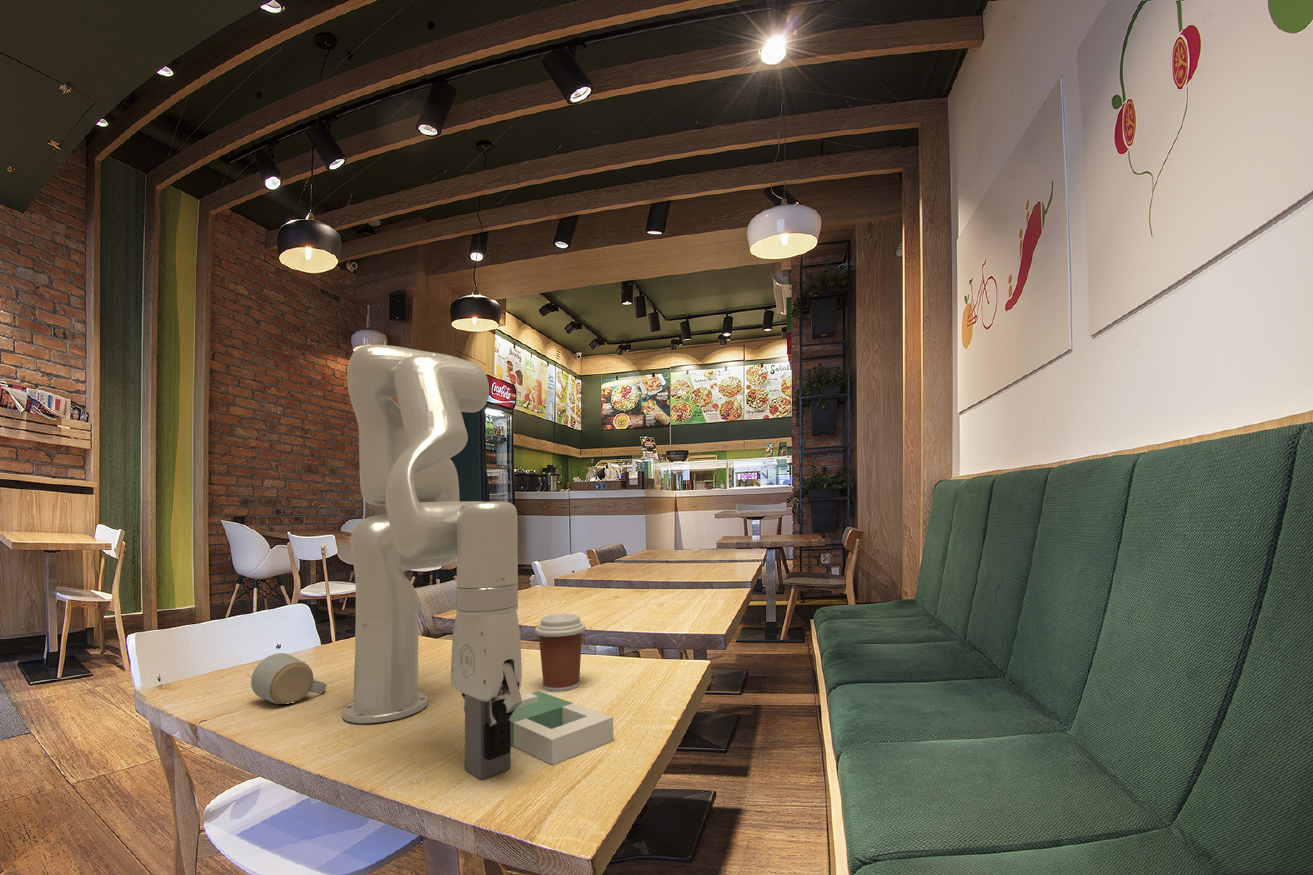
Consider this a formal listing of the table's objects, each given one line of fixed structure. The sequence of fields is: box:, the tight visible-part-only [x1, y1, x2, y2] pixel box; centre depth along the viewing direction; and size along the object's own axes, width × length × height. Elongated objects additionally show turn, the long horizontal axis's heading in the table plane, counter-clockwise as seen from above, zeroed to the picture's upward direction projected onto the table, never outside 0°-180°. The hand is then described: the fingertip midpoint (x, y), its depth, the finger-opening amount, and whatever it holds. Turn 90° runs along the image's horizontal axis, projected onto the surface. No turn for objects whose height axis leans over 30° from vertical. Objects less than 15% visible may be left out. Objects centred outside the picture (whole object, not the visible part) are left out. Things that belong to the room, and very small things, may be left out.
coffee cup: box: [534, 613, 587, 693], centre depth 106 cm, size 9×9×12 cm
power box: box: [510, 691, 614, 766], centre depth 83 cm, size 18×10×4 cm, turn 45°
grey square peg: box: [464, 689, 512, 781], centre depth 73 cm, size 4×4×9 cm
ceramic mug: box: [250, 652, 327, 705], centre depth 104 cm, size 11×8×8 cm
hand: (487, 749), depth 73 cm, fingers closed on grey square peg, 4 cm apart
